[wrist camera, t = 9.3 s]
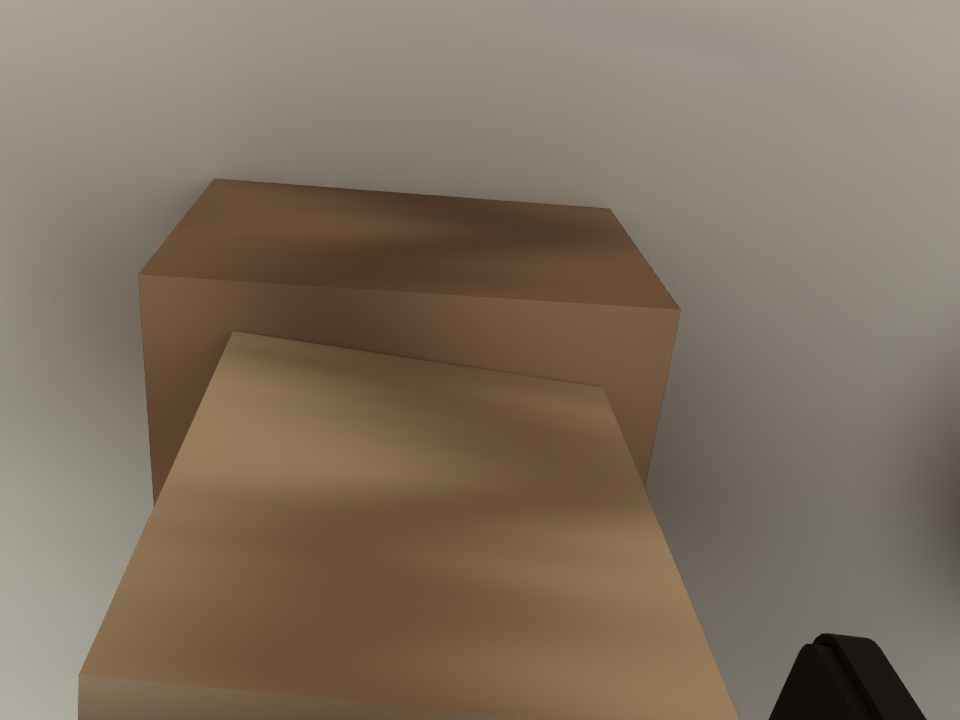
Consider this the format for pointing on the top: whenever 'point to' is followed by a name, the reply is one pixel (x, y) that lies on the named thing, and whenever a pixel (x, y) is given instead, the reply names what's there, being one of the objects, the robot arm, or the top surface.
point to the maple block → (399, 556)
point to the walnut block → (404, 294)
